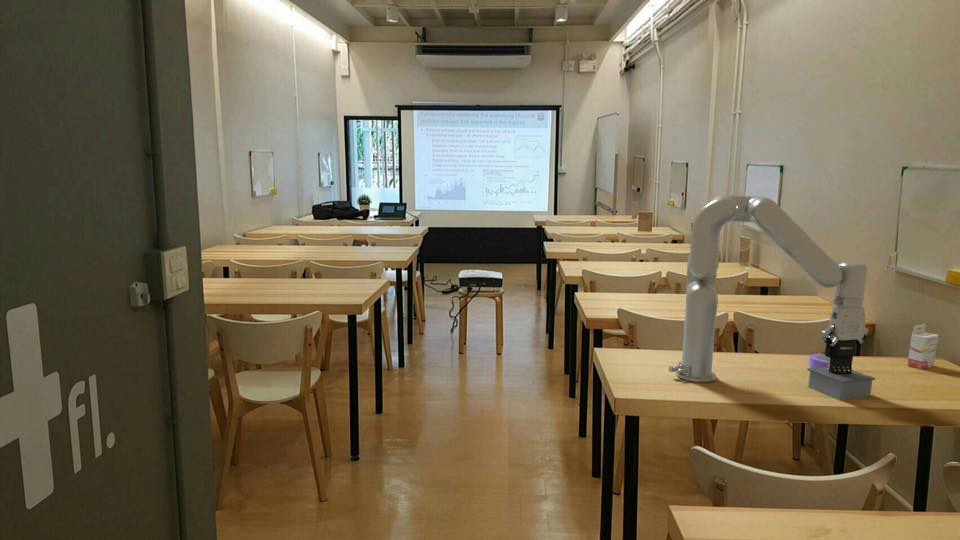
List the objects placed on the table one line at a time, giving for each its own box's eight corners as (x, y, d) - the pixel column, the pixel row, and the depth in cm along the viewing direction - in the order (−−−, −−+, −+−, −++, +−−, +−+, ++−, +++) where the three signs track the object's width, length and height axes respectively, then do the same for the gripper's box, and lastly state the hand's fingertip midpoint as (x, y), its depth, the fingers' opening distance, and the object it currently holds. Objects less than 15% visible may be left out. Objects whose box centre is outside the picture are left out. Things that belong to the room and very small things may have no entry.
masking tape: (802, 363, 229) (803, 353, 229) (834, 363, 230) (835, 353, 229) (820, 374, 218) (821, 363, 217) (854, 374, 218) (855, 363, 218)
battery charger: (832, 374, 198) (836, 338, 196) (826, 370, 202) (829, 335, 200) (855, 375, 198) (859, 339, 196) (848, 371, 201) (852, 336, 199)
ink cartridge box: (922, 370, 224) (927, 329, 221) (906, 366, 228) (912, 325, 225) (934, 366, 228) (940, 326, 225) (919, 362, 232) (924, 323, 230)
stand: (839, 401, 192) (841, 381, 191) (805, 386, 205) (807, 368, 204) (872, 397, 196) (875, 378, 195) (837, 383, 208) (839, 365, 207)
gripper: (836, 306, 190) (830, 362, 192) (881, 303, 195) (874, 358, 198) (816, 301, 197) (810, 354, 199) (860, 298, 202) (853, 351, 205)
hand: (842, 356), depth 198 cm, fingers open, 9 cm apart
